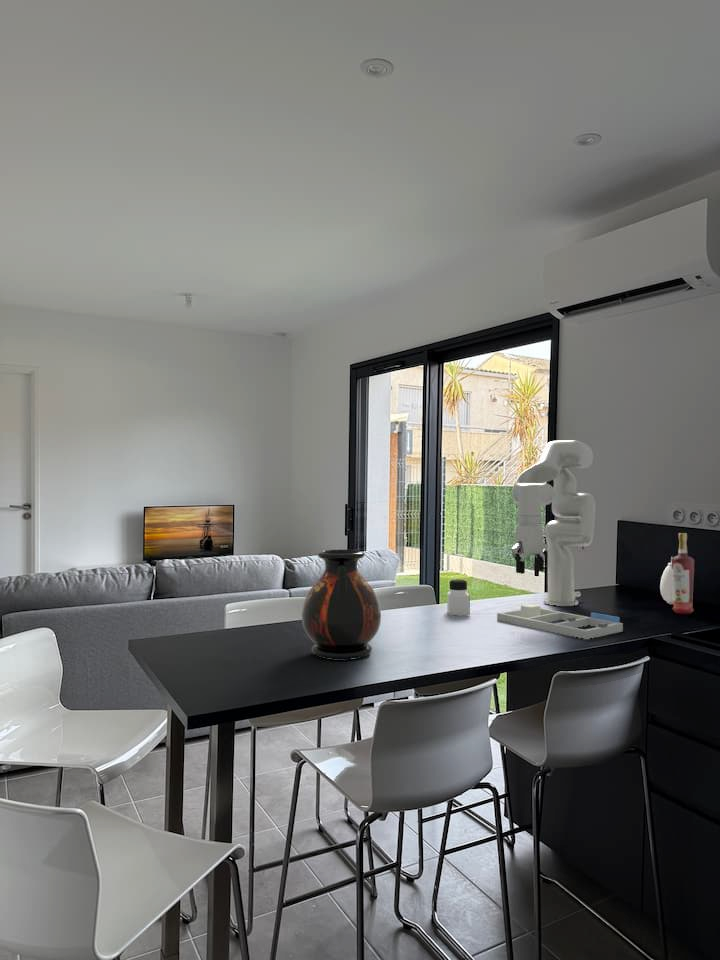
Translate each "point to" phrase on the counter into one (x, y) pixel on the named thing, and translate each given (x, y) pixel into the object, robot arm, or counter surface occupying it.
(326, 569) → the black and orange vase
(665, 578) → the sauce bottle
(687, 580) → the liquor
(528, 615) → the cream matte cube
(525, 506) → the robot arm
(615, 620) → the compartment tray
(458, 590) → the medicine bottle
